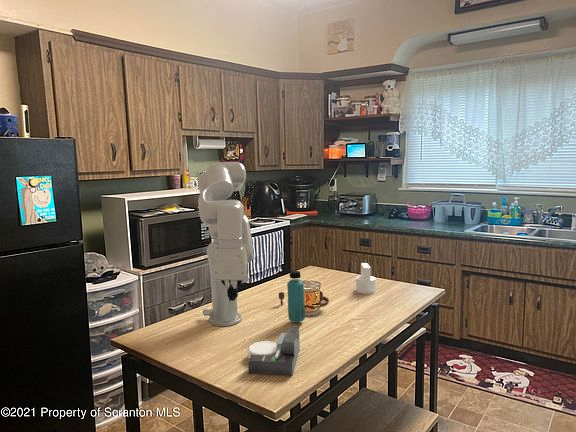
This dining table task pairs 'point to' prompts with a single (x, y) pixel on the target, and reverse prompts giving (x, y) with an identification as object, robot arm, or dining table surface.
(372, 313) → the dining table surface
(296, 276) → the beverage bottle
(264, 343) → the white round tin
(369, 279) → the cylinder with rectangular tab
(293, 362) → the frame
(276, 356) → the gauge plunger
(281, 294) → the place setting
